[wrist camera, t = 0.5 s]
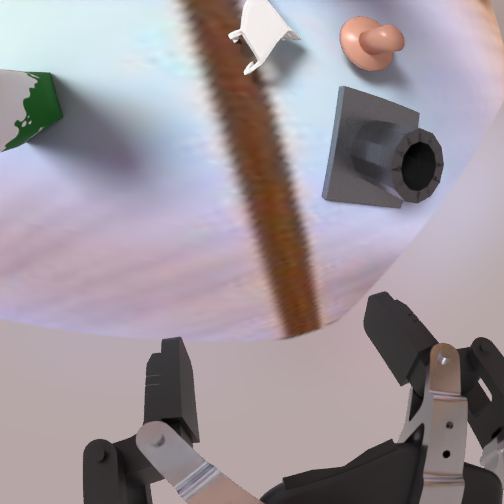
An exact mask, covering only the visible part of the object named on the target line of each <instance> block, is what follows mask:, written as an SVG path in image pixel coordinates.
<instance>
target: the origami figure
mask: <svg viewBox="0 0 504 504" xmlns="http://www.w3.org/2000/svg"><path fill="white" fill-rule="evenodd" d="M239 35H243V37H244V39H245V40H246V42H247V43H248V45H249V47H250V48H251V50H252V51H253V53H254V55H255V56H256V58H257V60H258V61H257V63H256V64H255V65H253V64H254V63H253V61H252V62H251V63H250V64H249V65H248V66H247V67H246V69H245V71H244V75H247V74H250V73H251V72H253V71H254V70H255V69H256V68H257V67H258V66H260V65H261V64H262V63H263V62H264V61H265V59H266V58H267V57H268V55H269V54H270V52H271V51H272V49H273V48H274V46H275V45H276V43H277V42H278V41H279V40H280V39H281V40H283V41H285V38H290V39H295V40H301V39H300V37H299V36H298V35H297V34H296V33H295V32H294V31H293V30H292V29H291V28H290V27H289V26H287V24H286V23H285V22H284V20H283V19H282V18H281V17H280V15H279V14H278V13H277V11H276V10H275V9H274V8H273V7H272V5H271V4H270V3H269V2H268V0H247V1H246V3H245V5H244V7H243V13H242V20H241V29H239V30H237V31H234V32H231V33H230V34H229V35H228V36H229V38H230V39H233V41H234V43H235V42H237V41H238V40H239V38H238V36H239ZM284 37H285V38H284Z"/></svg>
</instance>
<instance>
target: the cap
mask: <svg viewBox="0 0 504 504" xmlns="http://www.w3.org/2000/svg"><path fill="white" fill-rule="evenodd" d="M340 43H341V48H342V50H343V52H344V54H345V55H346V56H347V58H348V59H349V60H350V61H351V62H352V63H353V64H354V65H356V66H357V67H359V68H361V69H363V70H367V71H378V70H382V69H385V68H386V67H388V66H389V64H390V63H391V61H392V59H393V54H394V52H395V51H400V50H402V49H403V47H404V43H405V42H404V37H403V35H402V33H401V32H400V30H399V29H398V28H396V27H395V26H393V25H384V26H382V25H380V24H379V23H378V22H376V21H375V20H373V19H371V18H367V17H355V18H353V19H350V20H348V21H347V22H345V23H344V25H343V26H342V28H341V30H340Z"/></svg>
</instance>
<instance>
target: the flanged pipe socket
mask: <svg viewBox="0 0 504 504" xmlns="http://www.w3.org/2000/svg"><path fill="white" fill-rule="evenodd" d="M419 114H420V113H418V112H416V111H414V110H411V109H409V108H406V107H404V106H401V105H399V104H396V103H394V102H391V101H388V100H386V99H383V98H380V97H377V96H374V95H371V94H368V93H365V92H362V91H359V90H356V89H352V88H349V87H346V86H341V87H339V92H338V100H337V107H336V114H335V121H334V128H333V135H332V141H331V147H330V153H329V159H328V165H327V171H326V176H325V182H324V187H323V192H322V197H323V198H324V199H325V200H331V201H341V202H351V203H360V204H369V205H377V206H385V207H393V208H400V207H401V203H402V200H403V201H406V202H412V203H419V202H421V201H423V200H425V199H426V198H428V197H430V196H431V195H432V193H433V192H434V190H435V189H436V187H437V186H438V184H439V183H440V179H441V175H442V170H443V166H444V163H443V155H442V148H441V146H440V144H439V142H438V141H437V139H436V138H435V136H434V135H433V133H430V132H428V131H425V130H423V129H420V128H417V127H418V121H419Z"/></svg>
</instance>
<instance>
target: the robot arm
mask: <svg viewBox="0 0 504 504" xmlns="http://www.w3.org/2000/svg"><path fill="white" fill-rule="evenodd" d="M364 329H365V332H366V334H367V335H368V337H369V338H370V340H371V341H372V342H373V344H374V346H375V347H376V349H377V350H378V352H379V353H380V355H381V356H382V358H383V359H384V361H385V362H386V364H387V365H388V367H389V369H390V370H391V371H392V373H393V375H394V376H395V378H396V379H397V381H398V383H399V384H400V386H403V385H405V384H407V383H410V384H411V388H410V393H409V400H408V407H407V413H406V419H405V424H404V428H403V430H402V432H401V434H400V437H399V440H398V443H394V442H393V440H392V439H390V440H388V441H386V442H384V443H382V444H379V445H377V446H375V447H373V448H371V449H368V450H367V451H365V452H364V453H363V454H361V455H360V456H358V457H357V458H355V459H354V460H353V461H351V462H350V463H348V464H347V465H345V466H343V467H337V468H328V469H317V470H310V471H307V472H303V473H299V474H296V475H292V476H288V477H285V478H283V482H282V483H280V484H279V485H277V486H275V487H273V488H272V489H270V490H269V491H268V492H266V493H265V494H264V495H263V496H262V497H261V498H260V499H259V500H258V499H257V498H255V497H254V496H252V495H251V494H250V493H248V492H247V491H246V490H244V489H243V488H242V487H240V486H239V485H237V484H236V483H235V482H234V481H232V480H231V479H230V478H228V477H227V476H226V475H225V474H223V473H222V472H221V471H220V470H218V469H217V468H216V467H214V466H213V465H211V464H210V463H208V462H207V461H206V460H205V459H204V458H203V457H201V456H200V455H199V454H198V453H197V452H196V451H195V450H194V449H193V443H198V442H200V439H199V431H198V422H197V413H196V402H195V392H194V381H193V380H194V379H193V370H192V366H191V361H190V359H189V356H188V353H187V351H186V348H185V346H184V343H183V340H182V338H181V337H174V338H168V339H163V340H162V345H161V346H162V347H161V353H154V354H152V355H151V357H150V359H149V361H148V363H147V367H146V383H145V385H146V387H145V405H144V422H143V425H142V427H141V428H140V429H139V430H138V432H137V434H135V435H134V436H132V437H130V438H128V439H125V440H122V441H119V442H116V443H113V444H112V443H110V442H109V441H107V440H103V439H97V440H93V441H91V442H90V443H89V444H88V445H87V446H86V448H85V450H84V453H83V454H84V455H83V497H84V504H153V503H152V497H151V489H150V484H151V483H154V482H156V481H160V480H162V479H166V480H167V481H168V482H169V483H170V484H171V485H172V486H173V487H174V488H175V489H176V490H177V492H178V494H179V495H180V496H181V497H182V498H183V499H184V500H185V501H186V502H187V503H188V504H502V495H503V490H504V357H503V355H502V354H501V353H500V352H499V350H498V349H497V348H496V346H495V345H494V344H493V343H492V342H491V341H490V340H488V339H486V338H483V337H479V338H476V339H475V340H474V341H473V343H472V345H471V346H470V347H467V348H461V349H455V348H454V347H453V346H451V345H450V344H446V343H439V342H438V341H437V340H436V339H435V338H434V337H433V335H432V334H431V333H430V332H429V331H428V329H427V328H426V327H425V326H424V325H423V323H422V322H421V321H419V319H418V318H417V316H416V315H415V314H413V312H412V311H411V310H410V308H409V307H408V306H407V305H405V304H404V303H402V302H400V301H399V300H394V299H393V298H392V297H391V296H390V295H389V294H388V293H387V292H381V293H377V294H374V295H371V296H369V298H368V303H367V308H366V312H365V317H364ZM480 378H481V379H482V380H483V382H484V383H485V384H486V386H487V388H488V389H489V391H490V392H491V394H492V402H491V401H490V400H489V398H488V397H487V395H486V393H485V392H484V390H483V389H482V387H481V386H480V384H479V383H478V381H479V379H480ZM467 421H468V423H469V424H470V426H471V428H472V430H473V432H474V434H475V435H476V437H477V439H478V441H479V443H480V445H481V447H482V449H483V454H482V457H481V458H480V464H481V465H482V466H484V468H481V467H478V466H475V465H472V464H469V463H466V462H464V457H465V448H466V436H467Z"/></svg>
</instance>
